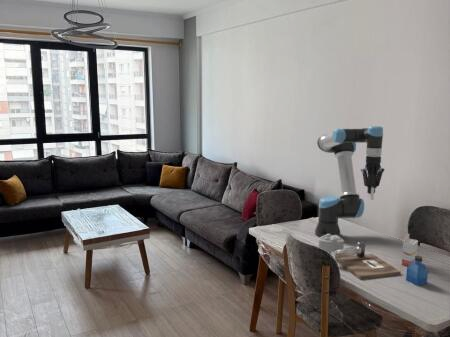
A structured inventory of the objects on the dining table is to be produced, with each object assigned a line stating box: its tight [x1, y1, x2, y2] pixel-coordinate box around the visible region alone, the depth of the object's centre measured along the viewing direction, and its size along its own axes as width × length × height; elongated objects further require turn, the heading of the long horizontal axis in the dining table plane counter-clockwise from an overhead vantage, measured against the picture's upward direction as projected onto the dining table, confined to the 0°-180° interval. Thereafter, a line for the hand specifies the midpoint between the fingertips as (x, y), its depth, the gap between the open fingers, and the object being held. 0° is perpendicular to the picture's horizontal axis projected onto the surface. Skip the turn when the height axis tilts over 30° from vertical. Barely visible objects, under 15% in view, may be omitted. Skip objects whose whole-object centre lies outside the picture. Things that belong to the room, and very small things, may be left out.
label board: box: [335, 253, 402, 280], centre depth 204 cm, size 23×22×2 cm
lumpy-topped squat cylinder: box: [317, 234, 345, 254], centre depth 225 cm, size 10×13×9 cm
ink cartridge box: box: [401, 233, 419, 267], centre depth 208 cm, size 9×5×15 cm, turn 141°
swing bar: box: [330, 240, 366, 260], centre depth 210 cm, size 21×4×7 cm, turn 118°
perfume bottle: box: [405, 255, 429, 287], centre depth 188 cm, size 6×6×12 cm
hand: (370, 199), depth 221 cm, fingers closed
